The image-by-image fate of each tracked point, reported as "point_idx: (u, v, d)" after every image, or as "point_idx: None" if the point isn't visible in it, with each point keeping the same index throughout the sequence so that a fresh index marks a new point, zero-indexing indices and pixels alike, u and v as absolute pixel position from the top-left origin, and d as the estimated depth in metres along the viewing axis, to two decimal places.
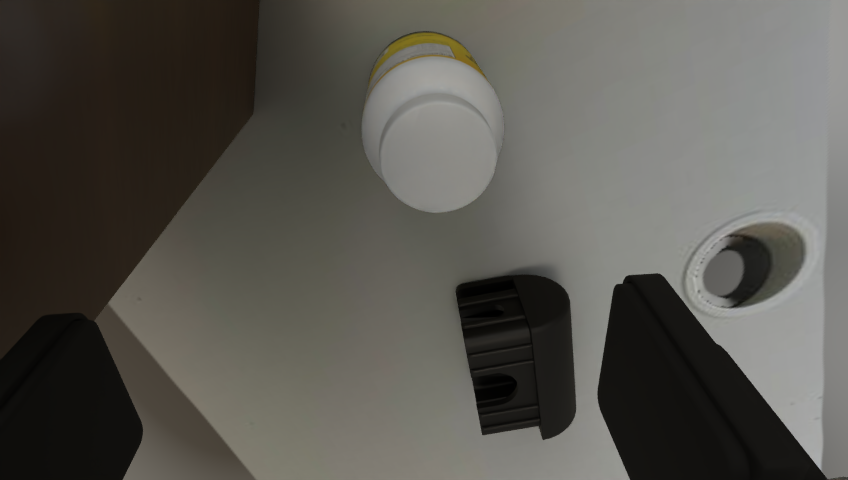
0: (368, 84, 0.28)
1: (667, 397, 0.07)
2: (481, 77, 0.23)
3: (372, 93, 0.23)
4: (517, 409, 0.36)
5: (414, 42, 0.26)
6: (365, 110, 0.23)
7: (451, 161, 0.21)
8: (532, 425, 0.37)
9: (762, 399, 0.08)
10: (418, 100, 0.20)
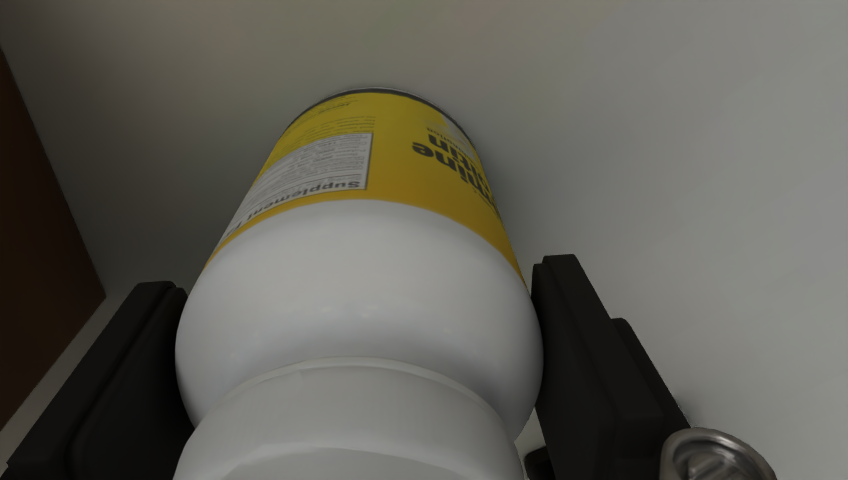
0: None
1: (564, 364, 0.08)
2: (442, 233, 0.08)
3: (177, 333, 0.09)
4: None
5: (300, 138, 0.12)
6: (176, 372, 0.09)
7: None
8: None
9: (652, 366, 0.08)
10: (226, 425, 0.06)
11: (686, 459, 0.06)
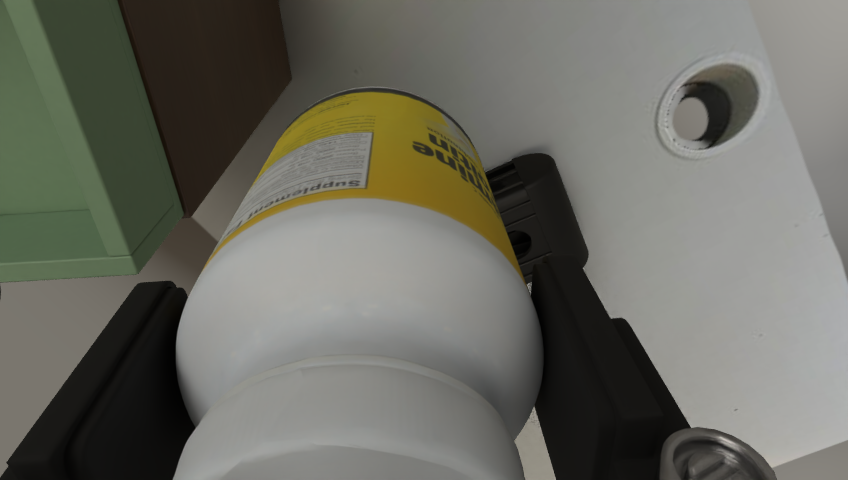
0: None
1: (563, 364, 0.08)
2: (442, 232, 0.08)
3: (177, 331, 0.09)
4: (536, 258, 0.46)
5: (301, 138, 0.12)
6: (177, 371, 0.09)
7: None
8: None
9: (652, 366, 0.08)
10: (226, 423, 0.06)
11: (686, 459, 0.06)
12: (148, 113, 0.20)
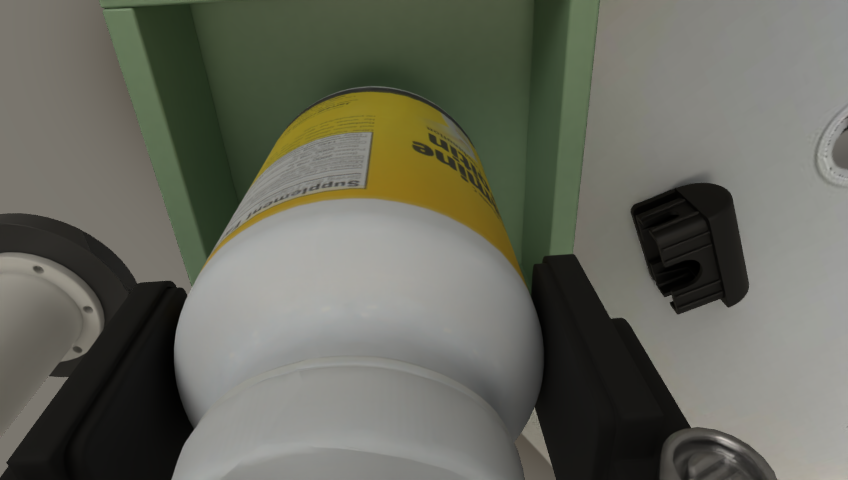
0: None
1: (564, 364, 0.08)
2: (442, 232, 0.08)
3: (176, 332, 0.09)
4: (704, 286, 0.46)
5: (300, 137, 0.12)
6: (175, 372, 0.09)
7: None
8: (717, 298, 0.47)
9: (652, 366, 0.08)
10: (224, 425, 0.06)
11: (686, 459, 0.06)
12: None
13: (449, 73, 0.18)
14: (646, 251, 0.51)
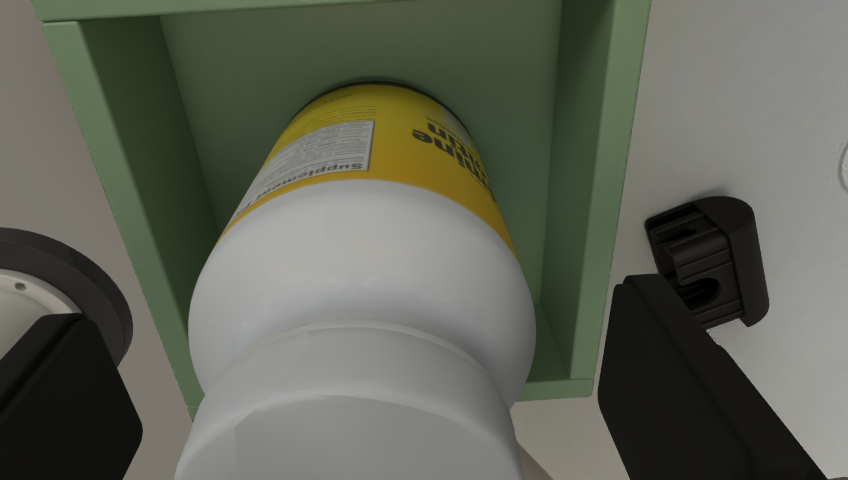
0: None
1: (667, 397, 0.07)
2: (439, 210, 0.09)
3: (190, 306, 0.09)
4: (722, 305, 0.44)
5: (305, 127, 0.12)
6: (189, 344, 0.10)
7: None
8: (736, 317, 0.45)
9: (762, 399, 0.08)
10: (240, 379, 0.07)
11: None
12: None
13: (461, 92, 0.16)
14: (660, 266, 0.49)
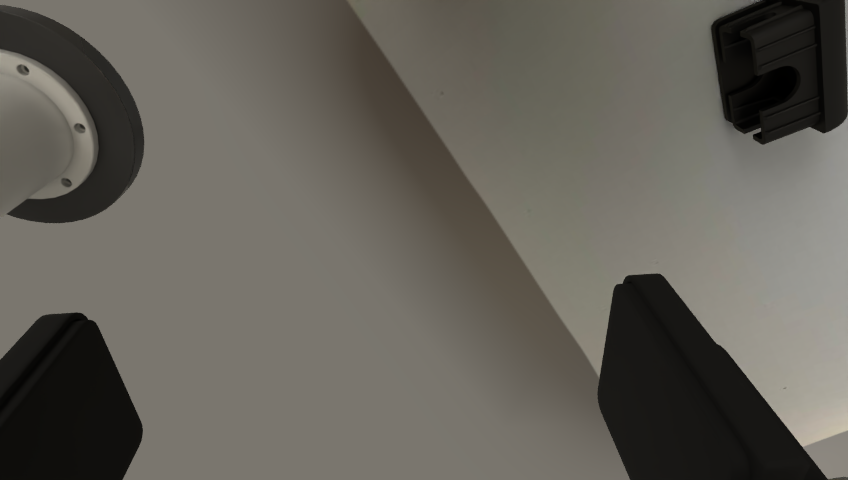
0: None
1: (667, 397, 0.07)
2: None
3: None
4: (800, 104, 0.40)
5: None
6: None
7: None
8: (812, 122, 0.41)
9: (762, 399, 0.08)
10: None
11: None
12: None
13: None
14: (724, 81, 0.45)
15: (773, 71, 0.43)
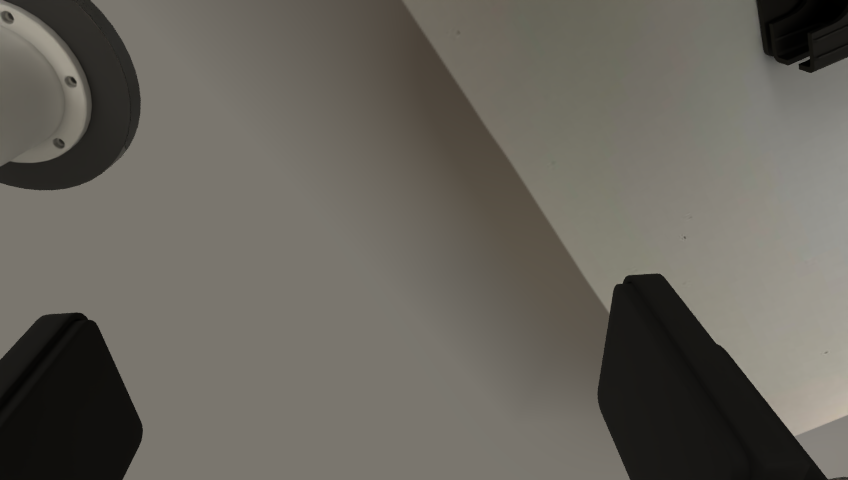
0: None
1: (667, 397, 0.07)
2: None
3: None
4: None
5: None
6: None
7: None
8: None
9: (762, 399, 0.08)
10: None
11: None
12: None
13: None
14: (764, 9, 0.41)
15: None
